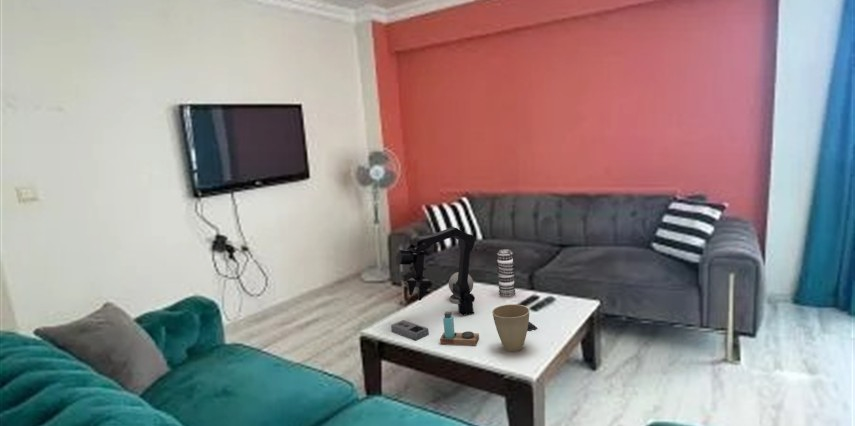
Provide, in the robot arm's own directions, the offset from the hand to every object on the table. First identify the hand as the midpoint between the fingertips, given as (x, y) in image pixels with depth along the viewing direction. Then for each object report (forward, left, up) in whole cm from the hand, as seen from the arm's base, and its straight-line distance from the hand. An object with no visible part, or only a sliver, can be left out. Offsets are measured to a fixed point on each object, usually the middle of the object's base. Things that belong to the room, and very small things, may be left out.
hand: (415, 297), depth 235 cm
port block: (+5, +6, -14) cm, 16 cm away
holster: (-14, +23, -14) cm, 31 cm away
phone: (-45, +17, -15) cm, 50 cm away
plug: (-10, +21, -14) cm, 28 cm away
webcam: (-29, -27, -15) cm, 42 cm away
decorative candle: (-52, -21, -14) cm, 58 cm away
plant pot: (-33, +37, -14) cm, 52 cm away
